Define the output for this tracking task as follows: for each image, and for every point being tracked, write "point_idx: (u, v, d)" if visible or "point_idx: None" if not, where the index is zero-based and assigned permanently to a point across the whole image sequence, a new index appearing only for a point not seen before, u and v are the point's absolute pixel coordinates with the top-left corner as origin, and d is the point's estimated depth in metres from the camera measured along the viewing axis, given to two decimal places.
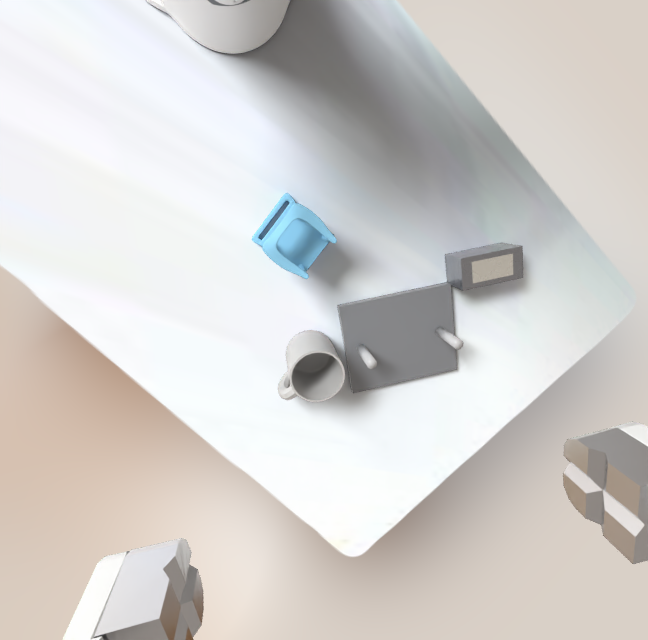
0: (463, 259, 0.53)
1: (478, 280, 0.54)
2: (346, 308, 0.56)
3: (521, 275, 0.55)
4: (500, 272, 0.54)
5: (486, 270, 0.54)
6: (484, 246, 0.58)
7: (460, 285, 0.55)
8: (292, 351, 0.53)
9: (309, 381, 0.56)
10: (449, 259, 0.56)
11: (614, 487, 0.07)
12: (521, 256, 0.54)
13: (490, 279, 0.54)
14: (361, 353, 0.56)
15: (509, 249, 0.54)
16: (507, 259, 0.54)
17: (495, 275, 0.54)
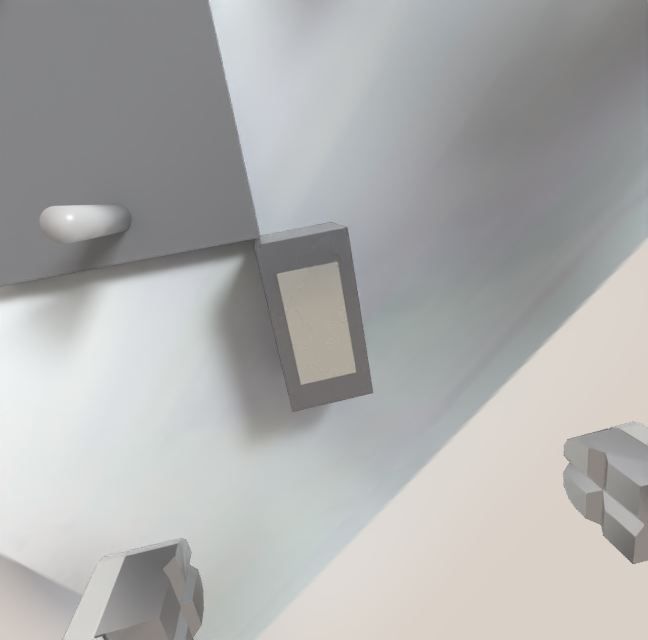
0: (344, 236, 0.19)
1: (283, 290, 0.19)
2: None
3: (298, 406, 0.21)
4: (307, 349, 0.20)
5: (312, 309, 0.20)
6: None
7: (266, 241, 0.19)
8: None
9: None
10: (325, 225, 0.22)
11: (614, 487, 0.07)
12: (347, 396, 0.21)
13: (286, 324, 0.20)
14: None
15: (365, 362, 0.21)
16: (341, 362, 0.21)
17: (299, 336, 0.20)
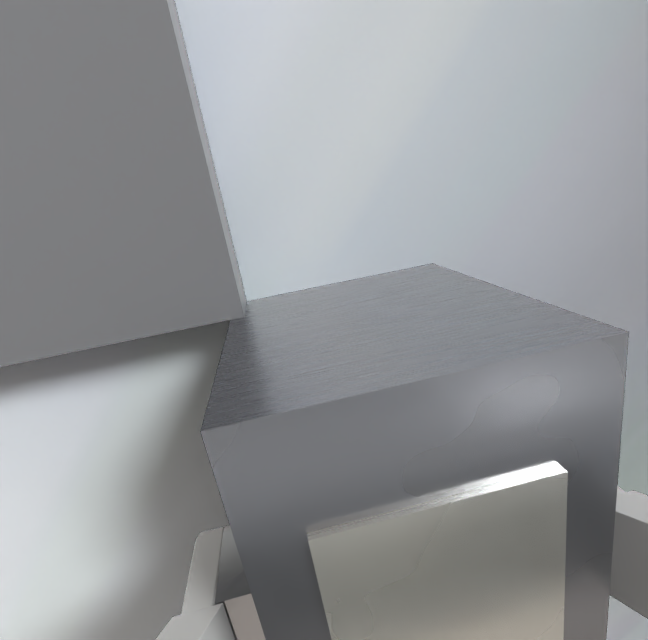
0: (611, 368, 0.04)
1: (337, 595, 0.04)
2: None
3: None
4: None
5: (441, 633, 0.05)
6: None
7: (265, 385, 0.04)
8: None
9: None
10: (440, 283, 0.07)
11: None
12: None
13: None
14: None
15: None
16: None
17: None
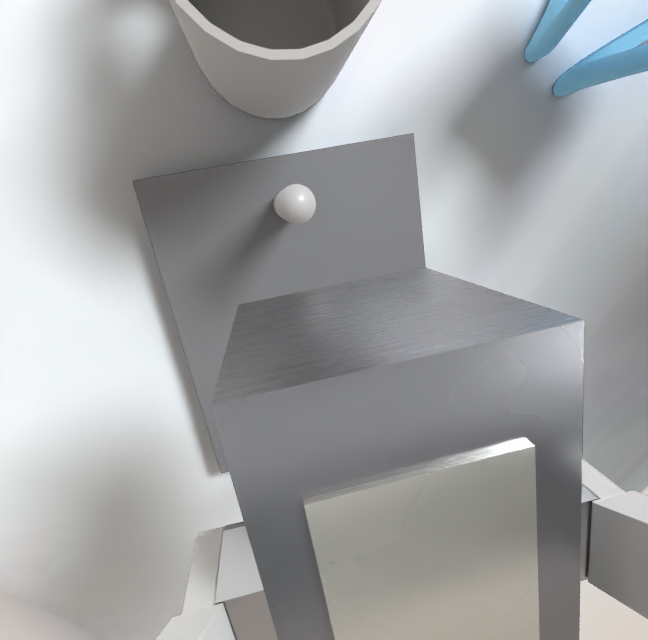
0: (570, 352, 0.05)
1: (330, 556, 0.05)
2: (407, 156, 0.20)
3: None
4: None
5: (426, 598, 0.06)
6: None
7: (266, 369, 0.05)
8: None
9: None
10: (428, 283, 0.08)
11: None
12: None
13: None
14: None
15: None
16: None
17: None
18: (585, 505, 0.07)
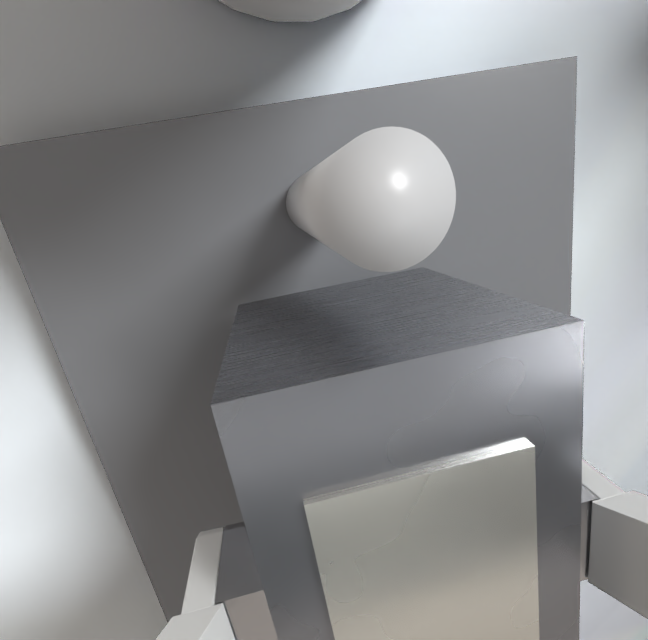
0: (570, 352, 0.05)
1: (330, 556, 0.05)
2: (560, 106, 0.10)
3: None
4: None
5: (426, 598, 0.06)
6: None
7: (266, 369, 0.05)
8: None
9: None
10: (428, 283, 0.08)
11: None
12: None
13: None
14: None
15: None
16: None
17: None
18: (585, 505, 0.07)
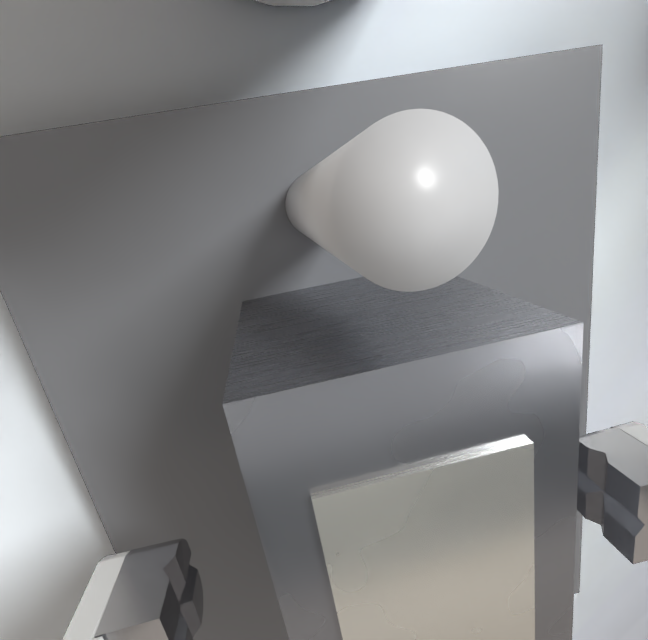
0: (569, 353, 0.05)
1: (336, 547, 0.05)
2: (583, 99, 0.09)
3: None
4: None
5: (427, 586, 0.06)
6: None
7: (275, 368, 0.05)
8: None
9: None
10: None
11: (614, 488, 0.07)
12: None
13: (338, 637, 0.06)
14: None
15: None
16: None
17: None
18: None
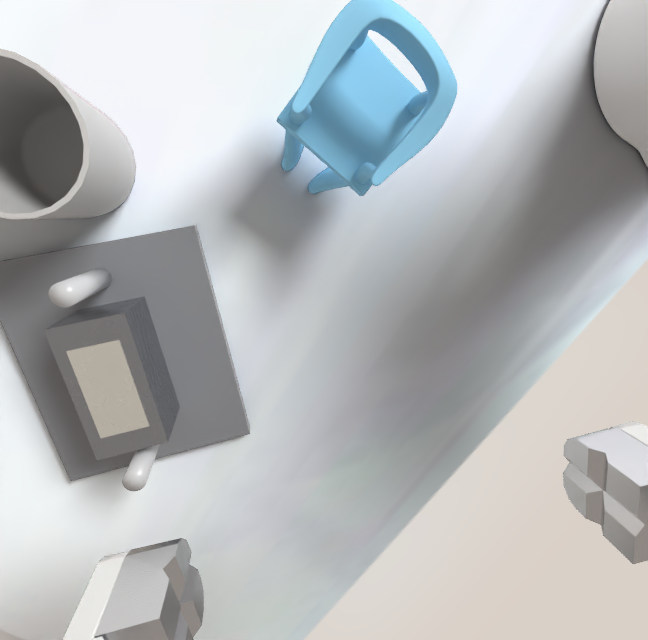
0: (123, 319, 0.23)
1: (74, 363, 0.23)
2: (192, 242, 0.28)
3: (101, 456, 0.25)
4: (103, 409, 0.24)
5: (103, 377, 0.24)
6: (168, 375, 0.29)
7: (60, 324, 0.23)
8: None
9: None
10: (129, 303, 0.26)
11: (614, 488, 0.07)
12: (145, 445, 0.25)
13: (81, 390, 0.24)
14: (89, 274, 0.24)
15: (157, 417, 0.25)
16: (135, 418, 0.25)
17: (93, 399, 0.24)
18: None
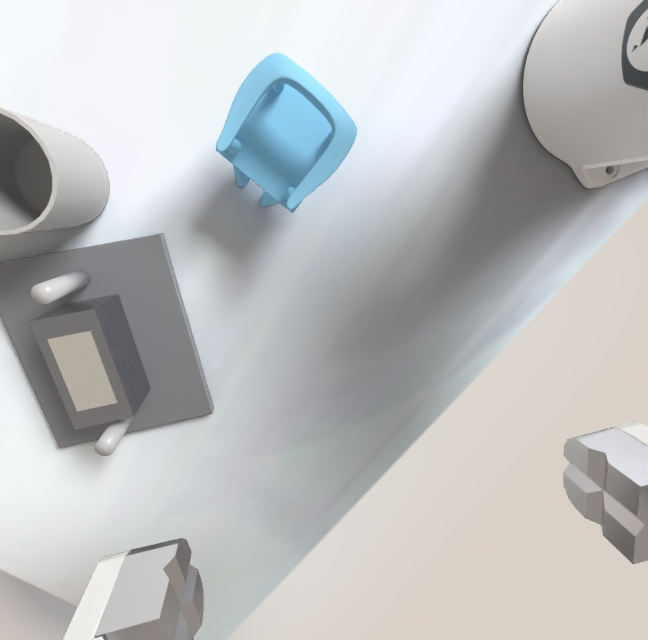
0: (93, 314, 0.28)
1: (54, 349, 0.28)
2: (158, 248, 0.32)
3: (78, 426, 0.30)
4: (79, 387, 0.30)
5: (78, 361, 0.29)
6: (139, 361, 0.34)
7: (43, 317, 0.28)
8: (52, 129, 0.26)
9: None
10: (103, 299, 0.31)
11: (614, 488, 0.07)
12: (114, 419, 0.31)
13: (60, 371, 0.29)
14: (68, 276, 0.29)
15: (124, 395, 0.30)
16: (105, 396, 0.30)
17: (70, 379, 0.29)
18: None
